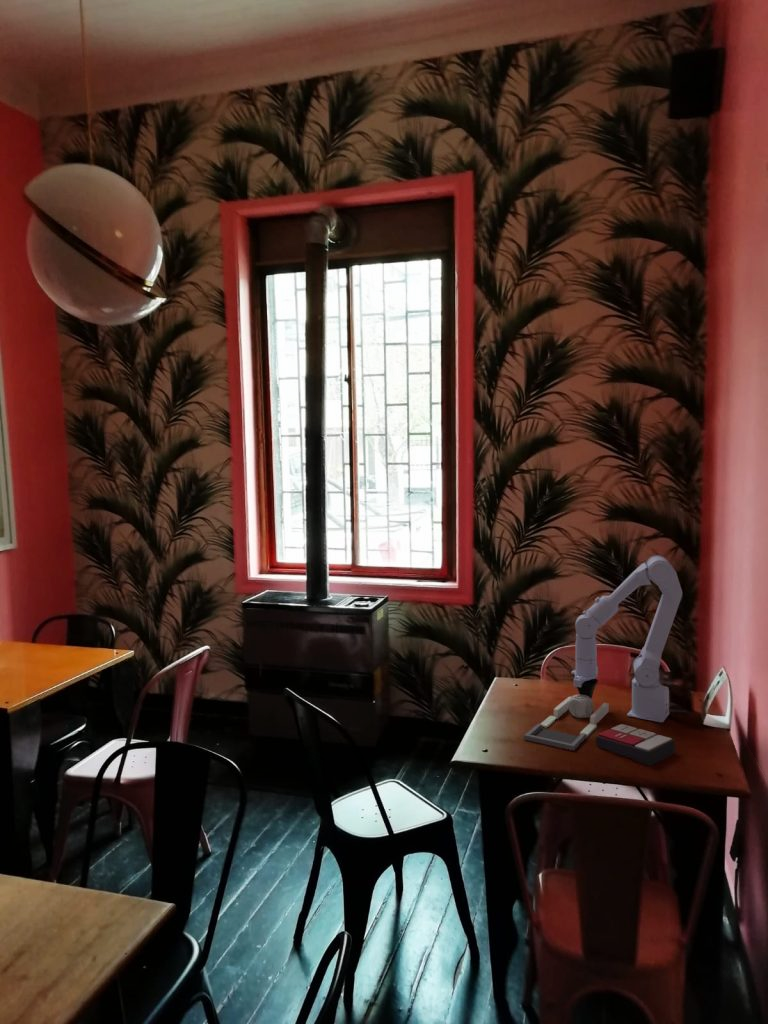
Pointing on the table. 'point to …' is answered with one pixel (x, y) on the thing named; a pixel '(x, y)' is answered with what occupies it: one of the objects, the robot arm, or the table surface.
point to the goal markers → (586, 730)
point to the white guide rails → (593, 718)
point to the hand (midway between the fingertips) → (585, 704)
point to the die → (580, 706)
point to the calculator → (636, 744)
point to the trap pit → (554, 738)
